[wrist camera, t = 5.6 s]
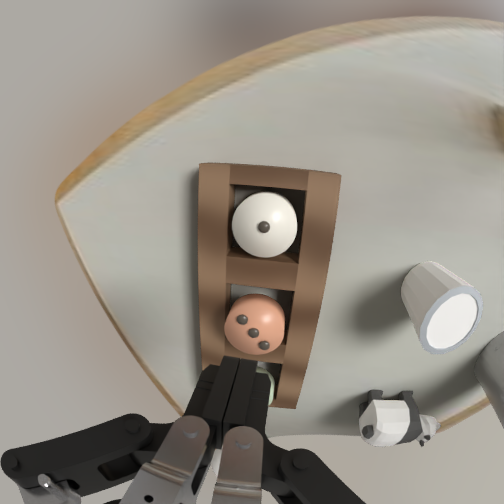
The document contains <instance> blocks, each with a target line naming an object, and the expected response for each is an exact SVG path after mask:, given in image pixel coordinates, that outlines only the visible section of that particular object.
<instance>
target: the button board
mask: <svg viewBox="0 0 504 504" xmlns="http://www.w3.org/2000/svg"><path fill="white" fill-rule="evenodd" d="M340 183H341V175H339V174H337V173H331V172H323V171H315V170H306V169H297V168H287V167H275V166H263V165H248V164H230V163H201V164H199V189H198V290H199V320H200V340H201V358H202V371H203V370H204V369H205V368H206V367H208V366H209V365H210V364H213V365H218V366H220V364H221V361H222V359H223V356H224V355H226V356H231V357H237V358H244V359H250V360H256V361H263V362H271V363H280V364H281V369H280V374H279V380H278V385H274V393H273V400H272V403H271V404H270V405H269V407H279V408H290V409H296V405H297V402H298V398H299V395H300V391H301V388H302V384H303V380H304V376H305V373H306V369H307V365H308V361H309V357H310V353H311V349H312V345H313V340H314V336H315V332H316V327H317V323H318V318H319V314H320V309H321V304H322V299H323V294H324V289H325V284H326V278H327V273H328V267H329V261H330V255H331V249H332V243H333V236H334V230H335V223H336V215H337V208H338V200H339V192H340ZM235 184H240V185H254V186H266V187H277V188H288V189H298V190H305V197H304V207H303V216H302V225H301V234H300V242H299V250H298V253H289V252H283V253H281V254H279V255H277V256H273V257H257V256H254V255H252V254H250V253H248V252H246V251H245V250H244V249H242V248H241V247H232V245H233V230H232V220H233V216H234V201H235ZM231 284H238V285H246V286H255V287H263V288H272V289H281V290H290V291H293V295H292V302H291V309H290V315H289V322H288V328H287V330H284V337H283V340H282V342H281V344H280V345H279V346H278V347H277V348H276V349H275V350H273V351H271V352H269V353H266V354H260V355H253V354H248V353H244V352H242V351H240V350H238V349H236V348H235V347H234V346H233V345H232V344H231V343H230V342H229V341H228V339H227V337H226V335H225V331H224V326H225V322H226V319H227V317H228V314H229V312H230V301H231Z"/></svg>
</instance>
